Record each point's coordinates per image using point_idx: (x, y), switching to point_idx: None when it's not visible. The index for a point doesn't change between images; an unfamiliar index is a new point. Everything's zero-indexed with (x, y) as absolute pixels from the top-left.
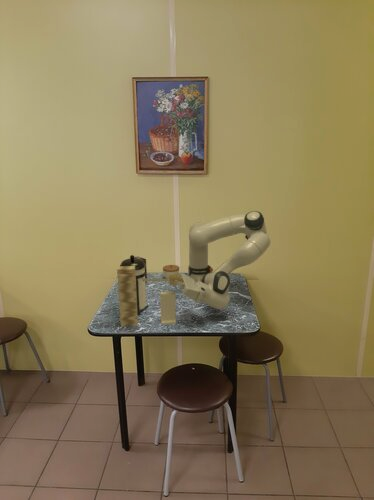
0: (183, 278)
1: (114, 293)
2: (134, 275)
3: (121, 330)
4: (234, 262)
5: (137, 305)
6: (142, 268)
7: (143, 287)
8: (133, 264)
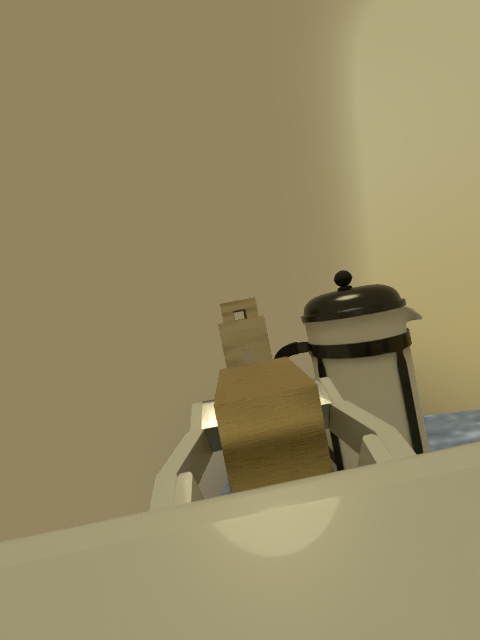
0: (354, 469)
1: (457, 415)
2: (219, 326)
3: (229, 486)
4: None
5: (337, 465)
6: (336, 318)
7: (359, 406)
8: (312, 300)
